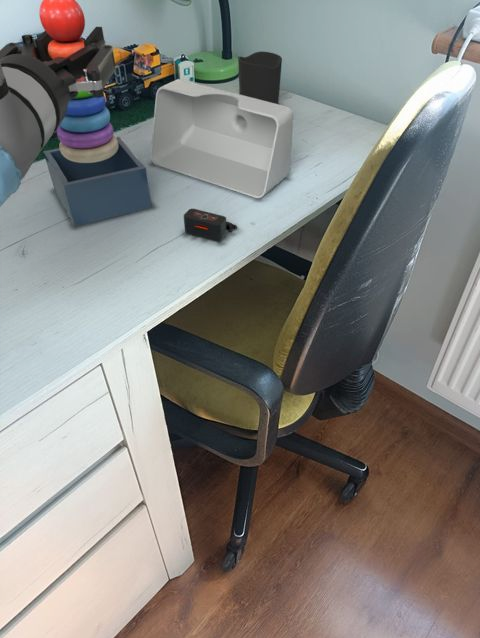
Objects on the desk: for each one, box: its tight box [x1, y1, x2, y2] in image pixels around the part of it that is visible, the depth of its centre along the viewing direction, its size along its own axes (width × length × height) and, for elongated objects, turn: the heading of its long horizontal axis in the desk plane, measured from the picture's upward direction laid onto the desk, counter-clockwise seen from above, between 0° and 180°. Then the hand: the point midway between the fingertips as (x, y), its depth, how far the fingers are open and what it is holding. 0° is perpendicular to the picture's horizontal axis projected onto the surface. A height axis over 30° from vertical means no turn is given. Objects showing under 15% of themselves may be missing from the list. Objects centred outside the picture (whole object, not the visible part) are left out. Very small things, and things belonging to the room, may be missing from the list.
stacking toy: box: [38, 0, 118, 163], centre depth 66 cm, size 8×8×19 cm
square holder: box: [43, 136, 152, 227], centre depth 85 cm, size 13×13×7 cm
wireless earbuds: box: [183, 208, 238, 243], centre depth 80 cm, size 5×7×3 cm, turn 67°
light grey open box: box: [149, 78, 294, 199], centre depth 93 cm, size 25×16×12 cm, turn 59°
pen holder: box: [237, 51, 283, 104], centre depth 114 cm, size 9×9×10 cm
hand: (78, 38), depth 67 cm, fingers closed on stacking toy, 5 cm apart
